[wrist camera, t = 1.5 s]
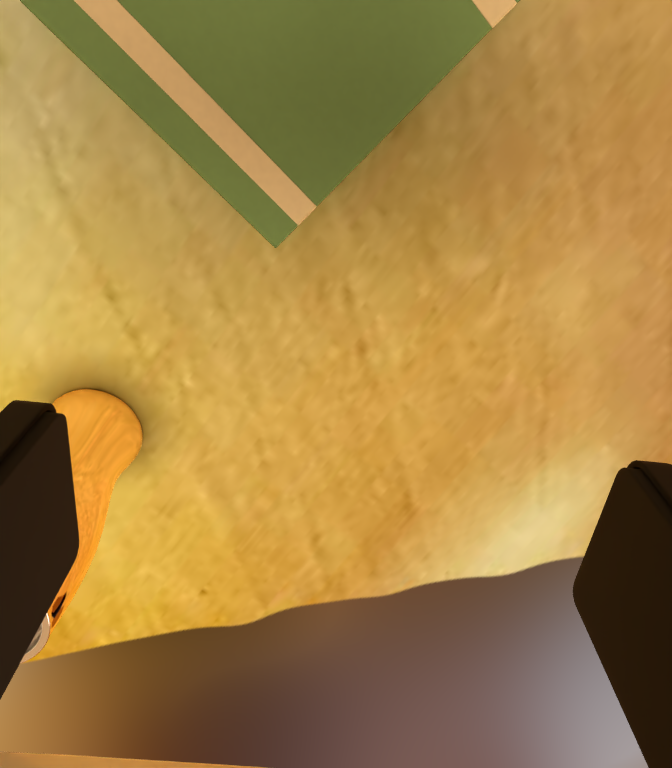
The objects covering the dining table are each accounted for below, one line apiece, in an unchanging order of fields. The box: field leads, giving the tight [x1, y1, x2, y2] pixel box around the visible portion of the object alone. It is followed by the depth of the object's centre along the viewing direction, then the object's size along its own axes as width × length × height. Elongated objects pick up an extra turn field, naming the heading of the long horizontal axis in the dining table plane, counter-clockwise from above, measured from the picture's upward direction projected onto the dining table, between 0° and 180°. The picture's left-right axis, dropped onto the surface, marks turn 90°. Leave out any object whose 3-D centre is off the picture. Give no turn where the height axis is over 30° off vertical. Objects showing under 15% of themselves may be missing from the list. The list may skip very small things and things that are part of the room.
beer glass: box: [20, 389, 143, 663], centre depth 32 cm, size 7×7×15 cm
